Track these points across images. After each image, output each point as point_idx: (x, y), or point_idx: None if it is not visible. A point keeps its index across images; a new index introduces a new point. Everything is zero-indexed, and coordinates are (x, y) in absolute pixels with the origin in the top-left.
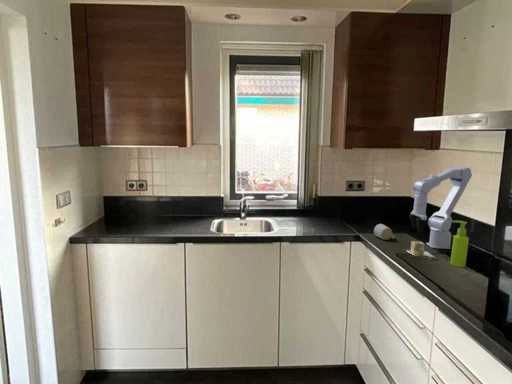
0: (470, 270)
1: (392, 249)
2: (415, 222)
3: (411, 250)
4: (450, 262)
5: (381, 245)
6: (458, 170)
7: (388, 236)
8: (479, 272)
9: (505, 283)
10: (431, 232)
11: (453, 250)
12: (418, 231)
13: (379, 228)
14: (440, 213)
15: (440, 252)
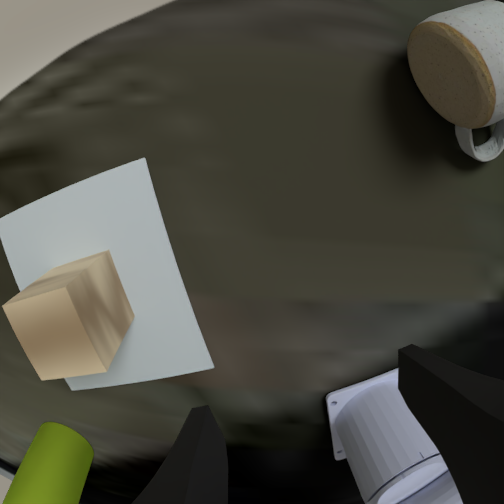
0: None
1: (139, 108)
2: (447, 427)
3: (82, 262)
4: (52, 427)
5: (227, 23)
6: None
7: (437, 93)
8: None
9: (10, 478)
10: (408, 448)
11: (19, 472)
12: (186, 419)
13: (477, 11)
14: None
15: (245, 426)
